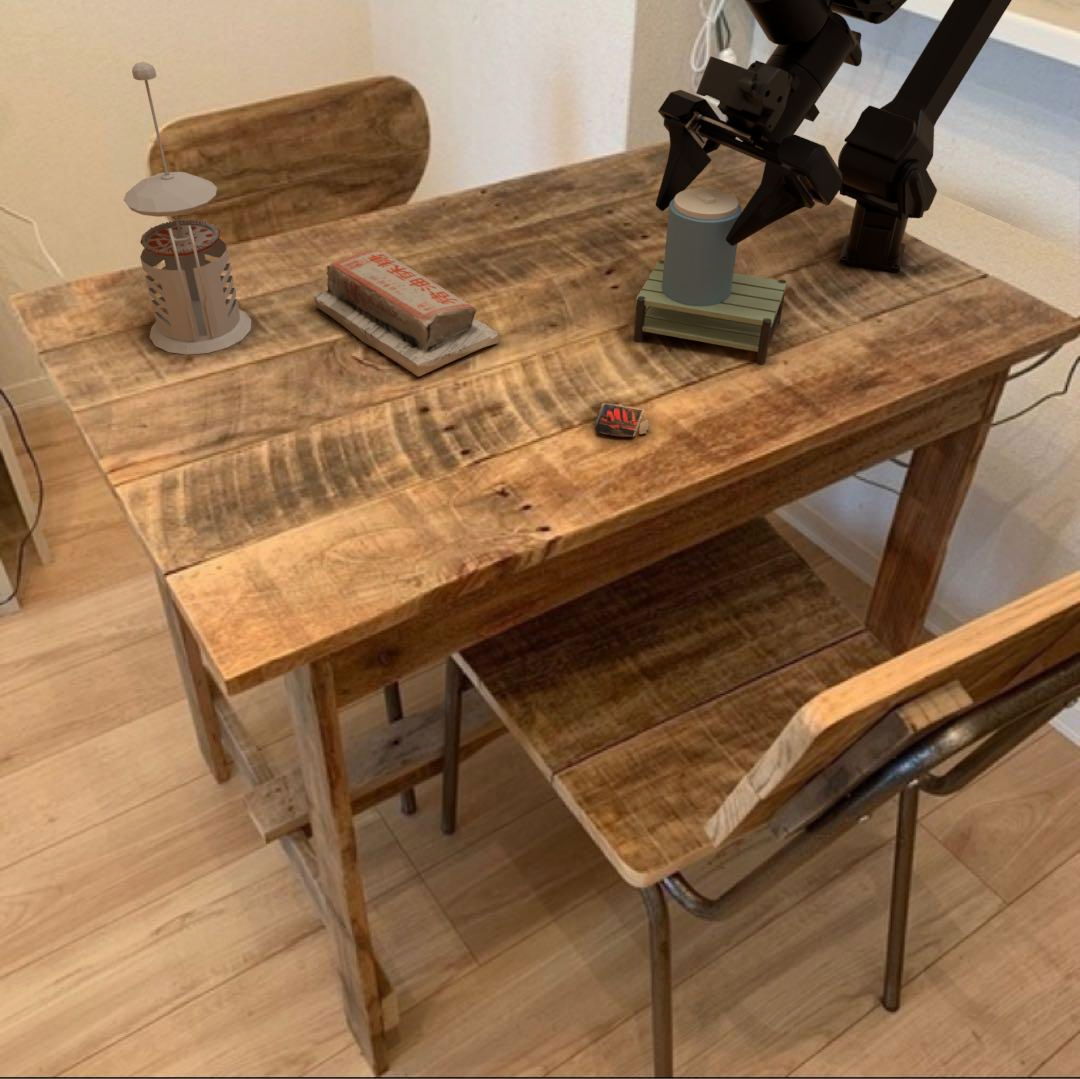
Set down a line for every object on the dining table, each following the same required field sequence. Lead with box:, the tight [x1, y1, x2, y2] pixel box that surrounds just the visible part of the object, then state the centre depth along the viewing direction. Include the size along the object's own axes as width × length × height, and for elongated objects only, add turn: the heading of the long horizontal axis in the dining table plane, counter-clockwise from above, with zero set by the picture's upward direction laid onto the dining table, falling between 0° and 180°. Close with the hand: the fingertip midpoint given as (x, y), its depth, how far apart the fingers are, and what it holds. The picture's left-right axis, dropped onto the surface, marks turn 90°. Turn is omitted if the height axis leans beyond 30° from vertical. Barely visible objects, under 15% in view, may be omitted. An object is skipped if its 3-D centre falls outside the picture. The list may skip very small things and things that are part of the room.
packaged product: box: [314, 249, 500, 378], centre depth 104 cm, size 18×5×10 cm
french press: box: [123, 61, 252, 356], centre depth 97 cm, size 10×12×25 cm
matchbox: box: [594, 402, 651, 438], centre depth 93 cm, size 5×5×1 cm
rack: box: [633, 259, 788, 365], centre depth 104 cm, size 9×13×4 cm
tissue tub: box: [662, 187, 743, 306], centre depth 100 cm, size 7×7×9 cm
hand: (692, 225), depth 98 cm, fingers open, 9 cm apart
